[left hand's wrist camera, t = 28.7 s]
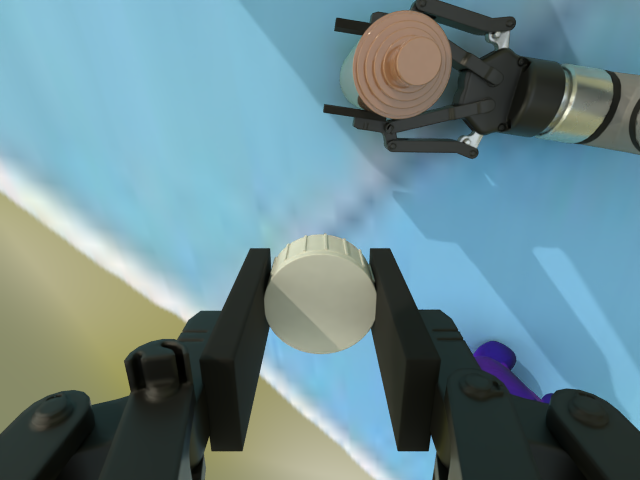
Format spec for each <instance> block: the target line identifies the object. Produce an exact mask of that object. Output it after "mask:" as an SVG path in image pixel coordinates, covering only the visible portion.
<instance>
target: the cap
mask: <svg viewBox="0 0 640 480" xmlns="http://www.w3.org/2000/svg"><path fill="white" fill-rule="evenodd" d="M374 283H375V279H374V276H373V273H372V269H371V266H370V264H369V265H368V263H367V261H366V259H365V257H364V256H363V254H362V252H361V250H360V249H359V250H358V249H357V248H356V247H355V246H354V245H352V244H351V243H349V242H348V241H346V239H345V238H344V239H341V238H339V237H335V236H331V235H327V234H325V233H324V235H311V236H307V235H305V236H304V237H303V238H300V239H298V240H296V241H294V242H292V243H291V244H289V243H288V244H287V247H286V248H284V249H283V250H282V251H281V253H280V254H279V255H278V257H275V259H274V262H273V266H272V269H271V273H270V277H269V280H268V284H267V287H266V291H265V295H264V307H265V316H266V319H267V322H268V324H269V326H270V327H271V329H272V330H273V332H274V333H275V334H276V335H277V336H278V337H279V338H280V339H281V340H282V341H283V342H285V343H286V344H287V345H289V346H291V347H293V348H295V349H298V350H300V351H303V352H307V353H313V354H328V353H334V352H338V351H342V350H344V349H347V348H349V347H351V346H352V345H354V344H356V343H357V342H358V341H360V340H361V339H362V338H363V337H364V336H365V335H366V334H367V333H368V331H369V330H370V328H371V327H372V325H373V323H374V321H375V311H376V294H377V293H376V289H375V285H374Z"/></svg>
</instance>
